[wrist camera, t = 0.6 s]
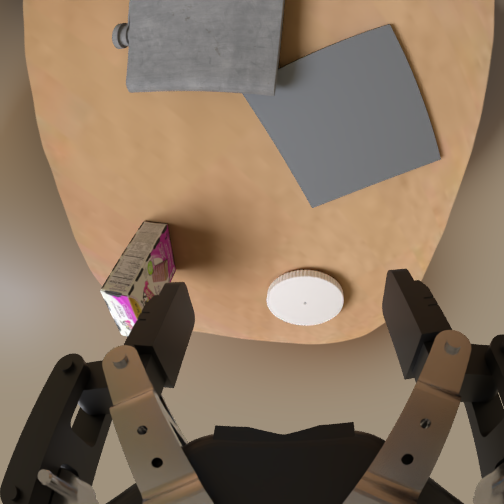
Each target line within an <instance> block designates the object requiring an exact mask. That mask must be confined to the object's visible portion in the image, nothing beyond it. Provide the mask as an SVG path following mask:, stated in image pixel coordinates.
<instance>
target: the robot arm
mask: <svg viewBox="0 0 504 504" xmlns="http://www.w3.org/2000/svg"><path fill="white" fill-rule="evenodd" d="M382 309H383V316H384V319H385V321H386V324H387V327H388V330H389V333H390V336H391V338H392V341H393V344H394V347H395V350H396V353H397V356H398V359H399V362H400V365H401V369H402V372H403V376H404V379H411V378H415V381H416V385H415V387H414V389H413V391H412V393H411V396H410V397H409V399H408V401H407V403H406V405H405V407H404V409H403V411H402V413H401V415H400V417H399V419H398V420H397V422H396V424H395V426H394V428H393V429H392V431H391V433H390V434H389V436H388V438H387V440H386V441H384V440H383V439H381V438H379V437H377V436H375V435H372V434H369V433H365V432H360V431H354V423H353V422H350V423H340V424H331V425H330V424H329V425H319V426H316V427H312V428H309V429H305V430H301V431H298V432H294V433H290V434H286V435H282V434H276V433H272V432H267V431H263V430H258V429H254V428H250V427H230V426H215V430H214V434H213V435H208V436H204V437H201V438H198V439H195V440H193V441H191V442H189V443H188V441H187V440H186V438H185V437H184V435H183V434H182V432H181V430H180V428H179V427H178V425H177V423H176V421H175V419H174V417H173V415H172V414H171V412H170V410H169V408H168V406H167V404H166V402H165V400H164V398H163V396H162V394H161V393H162V390H163V387H169V388H174V386H175V383H176V380H177V376H178V373H179V370H180V367H181V364H182V361H183V358H184V355H185V351H186V349H187V346H188V343H189V339H190V336H191V333H192V330H193V327H194V323H195V315H194V310H193V307H192V303H191V300H190V297H189V293H188V290H187V287H186V284H185V283H184V282H170V283H165V284H164V286H163V288H162V290H161V292H160V293H159V295H154V296H153V297H152V298H151V299H150V300H149V301H148V302H146V304H145V306H144V307H143V309H142V311H141V313H140V315H139V317H138V320H137V321H136V322H135V324H134V326H133V328H132V330H131V332H130V334H129V336H128V337H127V339H126V341H125V343H124V345H122V346H118V347H116V348H113V349H112V350H110V351H109V352H108V353H107V354H106V355H105V357H104V359H103V360H102V361H96V362H90V363H86V362H85V361H84V360H83V358H82V357H81V356H80V355H78V354H69V355H66V356H64V357H63V358H61V359H60V360H59V361H58V362H57V364H56V365H55V367H54V369H53V371H52V372H51V374H50V376H49V378H48V380H47V382H46V384H45V386H44V387H43V389H42V391H41V393H40V395H39V397H38V399H37V401H36V404H35V405H34V407H33V409H32V412H31V414H30V416H29V418H28V420H27V422H26V425H25V427H24V429H23V431H22V433H21V436H20V438H19V441H18V443H17V445H16V448H15V450H14V452H13V455H12V458H11V460H10V463H9V465H8V468H7V471H6V473H5V476H4V479H3V482H2V485H1V488H0V497H1V500H2V503H3V504H98V501H97V500H96V495H95V492H94V490H93V488H92V483H93V480H94V476H95V473H96V469H97V466H98V463H99V459H100V456H101V453H102V449H103V446H104V443H105V440H106V437H107V434H108V430H109V427H110V424H111V421H112V420H113V423H114V426H115V429H116V432H117V435H118V438H119V441H120V444H121V446H122V449H123V452H124V454H125V457H126V460H127V462H128V465H129V467H130V469H131V472H132V474H133V477H134V479H135V481H136V483H135V484H133V485H132V486H131V487H129V488H128V489H126V490H125V491H124V492H122V493H121V494H120V495H118V496H117V497H115V498H114V499H112V500H111V501H110V502H108V503H106V504H464V503H462V502H461V501H460V500H458V499H457V498H456V497H454V496H453V495H452V494H450V493H449V492H448V491H447V490H445V489H444V488H443V487H441V486H440V485H439V484H438V483H436V482H435V481H434V480H433V479H431V478H430V477H429V476H430V474H431V472H432V470H433V468H434V466H435V464H436V462H437V460H438V457H439V455H440V453H441V451H442V448H443V446H444V444H445V441H446V439H447V437H448V434H449V432H450V429H451V427H452V424H453V421H454V418H455V416H456V413H457V410H458V407H459V404H460V402H464V404H465V407H466V411H467V414H468V418H469V422H470V425H471V429H472V433H473V437H474V442H475V446H476V450H477V455H478V459H479V465H480V470H481V476H482V479H481V481H480V482H479V483H478V485H477V487H476V490H475V496H474V498H473V503H474V504H504V409H503V406H504V335H497V336H496V337H494V338H493V340H492V341H491V343H490V345H476V344H471V343H470V341H469V339H468V338H467V337H466V336H465V335H463V334H462V333H461V332H458V331H455V330H452V328H451V327H450V325H449V323H448V321H447V319H446V317H445V316H444V314H443V312H442V310H441V309H440V307H439V305H438V304H437V301H436V300H435V298H433V295H432V293H431V292H430V290H429V288H428V287H427V286H426V285H425V284H423V283H422V282H421V281H420V280H416V281H414V280H413V278H412V276H411V274H410V273H409V271H408V270H407V269H397V270H389V271H388V272H387V277H386V284H385V290H384V296H383V303H382ZM498 392H499V395H500V397H501V400H502V403H503V406H502V403H501V400H500V397H499V395H498ZM77 404H78V405H79V406H80V409H79V411H78V414H77V416H76V419H75V421H74V424H73V426H72V429H71V423H70V422H71V418H72V416H73V413H74V411H75V408H76V406H77Z"/></svg>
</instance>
